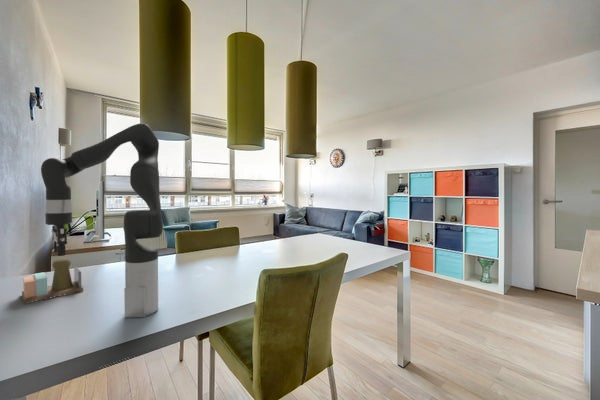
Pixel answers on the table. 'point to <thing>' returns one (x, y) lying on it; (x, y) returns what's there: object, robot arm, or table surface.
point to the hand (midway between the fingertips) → (59, 253)
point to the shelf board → (53, 293)
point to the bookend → (77, 276)
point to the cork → (61, 275)
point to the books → (35, 285)
